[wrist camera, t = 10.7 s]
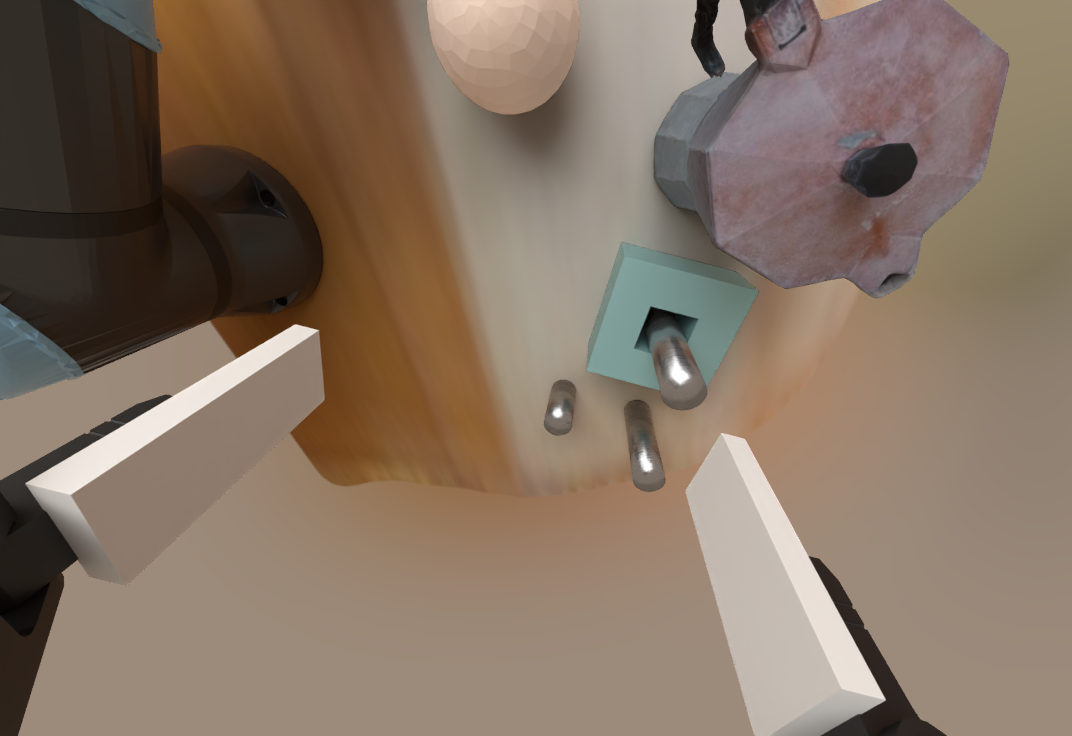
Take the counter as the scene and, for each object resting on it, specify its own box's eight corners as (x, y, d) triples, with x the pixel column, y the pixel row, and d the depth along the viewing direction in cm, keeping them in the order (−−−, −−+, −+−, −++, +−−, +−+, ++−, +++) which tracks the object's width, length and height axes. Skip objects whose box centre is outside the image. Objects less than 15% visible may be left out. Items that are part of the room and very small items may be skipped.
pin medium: (620, 415, 41) (628, 486, 32) (630, 397, 39) (641, 464, 31) (642, 423, 41) (656, 495, 32) (653, 404, 40) (671, 474, 31)
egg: (441, 51, 28) (352, -8, 18) (522, -74, 24) (466, -234, 14) (522, 148, 30) (483, 142, 20) (608, 47, 26) (612, -19, 17)
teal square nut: (588, 343, 37) (586, 370, 33) (621, 241, 32) (624, 256, 28) (687, 370, 37) (699, 401, 32) (736, 271, 32) (759, 291, 27)
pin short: (549, 396, 41) (541, 431, 36) (554, 377, 40) (547, 409, 35) (572, 403, 41) (567, 438, 36) (578, 383, 40) (575, 417, 35)
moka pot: (709, 267, 32) (831, 392, 15) (591, 114, 28) (573, 42, 11) (825, 181, 28) (1180, 216, 11) (706, -12, 24) (962, -438, 7)
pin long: (647, 294, 34) (671, 368, 22) (675, 301, 34) (714, 380, 22) (637, 320, 35) (654, 403, 23) (664, 327, 35) (696, 414, 23)
